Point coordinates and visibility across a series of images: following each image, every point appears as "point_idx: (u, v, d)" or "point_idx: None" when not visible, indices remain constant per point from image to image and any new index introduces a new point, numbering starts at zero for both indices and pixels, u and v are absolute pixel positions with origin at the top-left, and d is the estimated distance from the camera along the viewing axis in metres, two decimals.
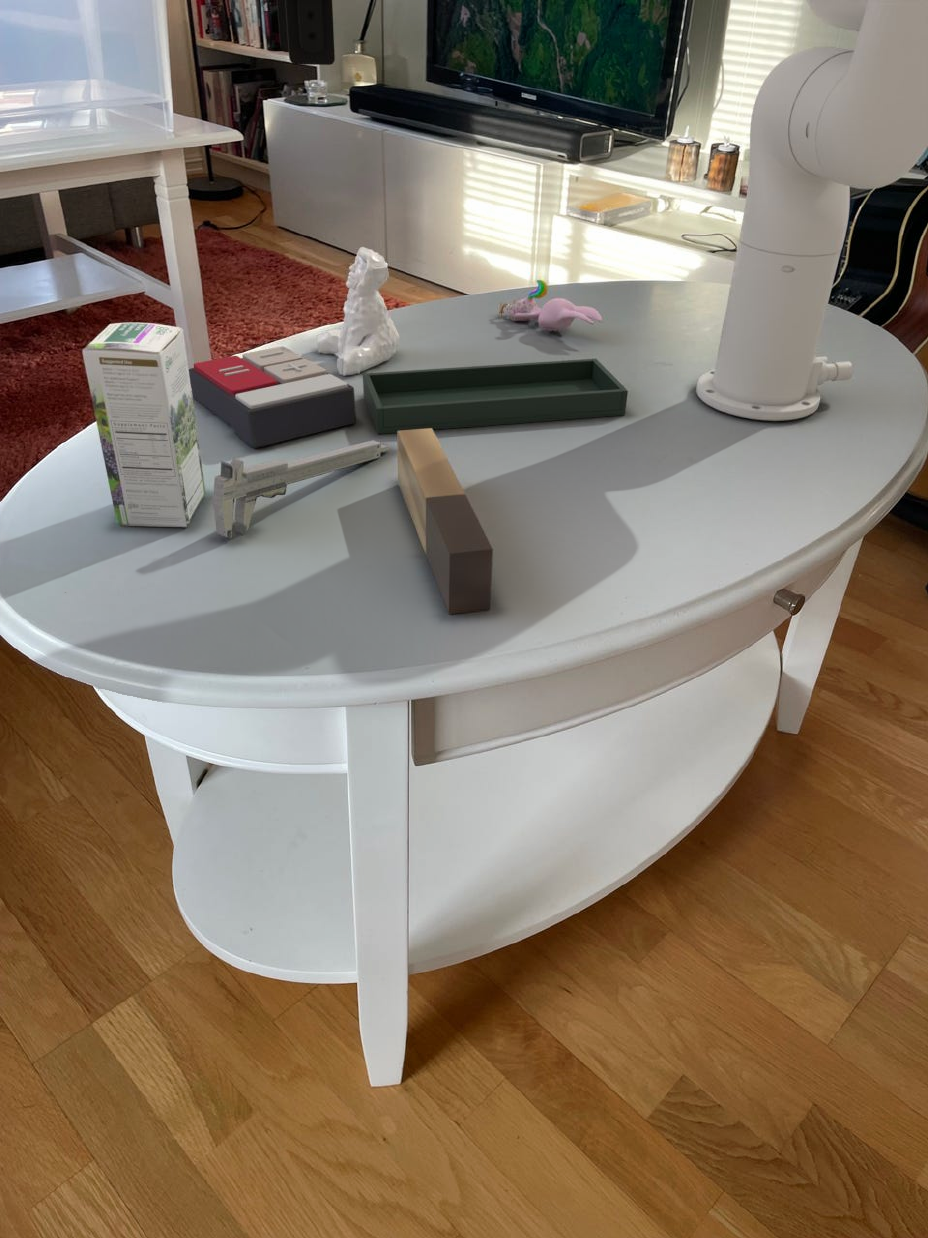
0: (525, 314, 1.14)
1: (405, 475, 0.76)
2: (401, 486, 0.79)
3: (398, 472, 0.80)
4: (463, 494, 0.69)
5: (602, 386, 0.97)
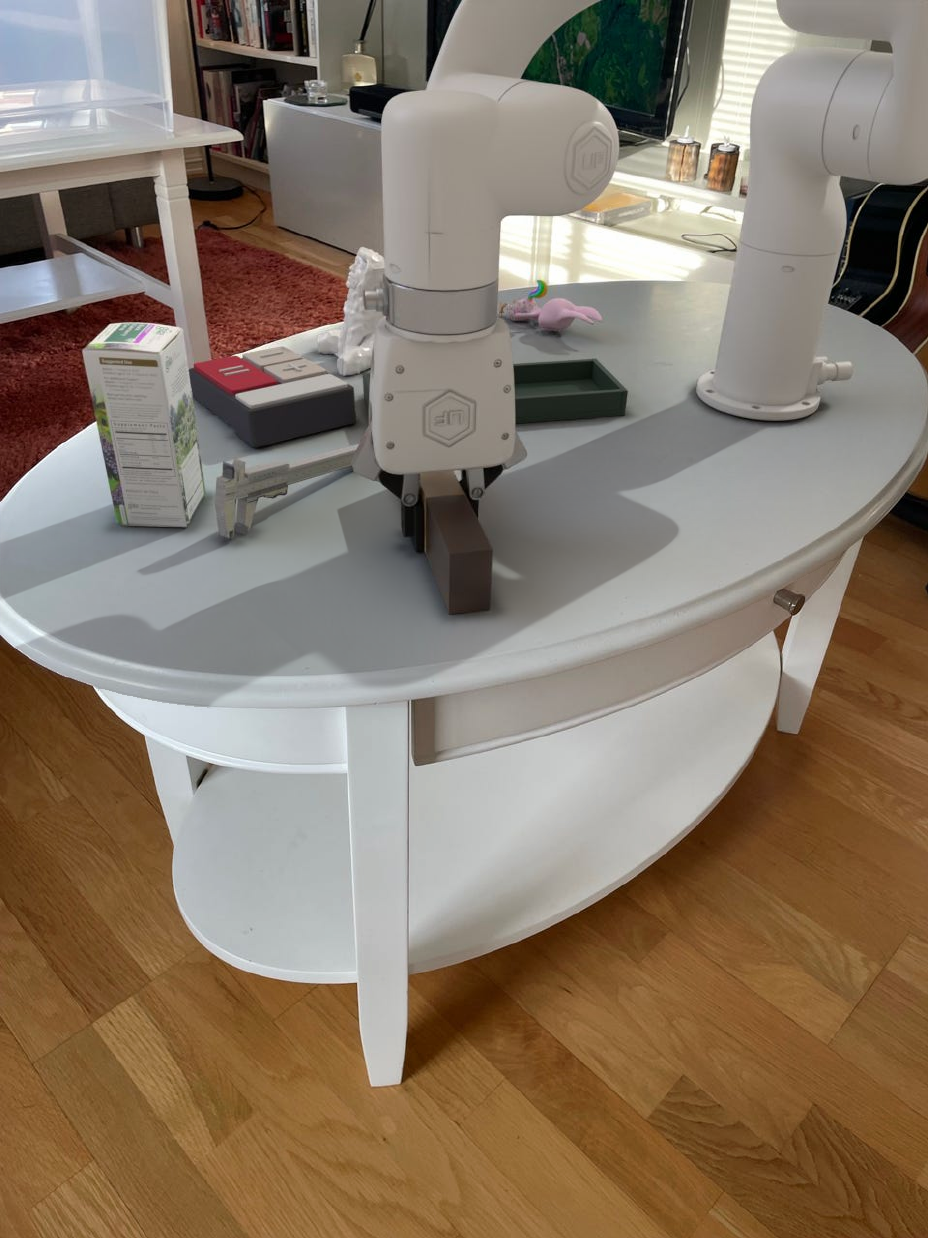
0: (525, 314, 1.14)
1: None
2: None
3: None
4: (463, 494, 0.69)
5: (602, 386, 0.97)
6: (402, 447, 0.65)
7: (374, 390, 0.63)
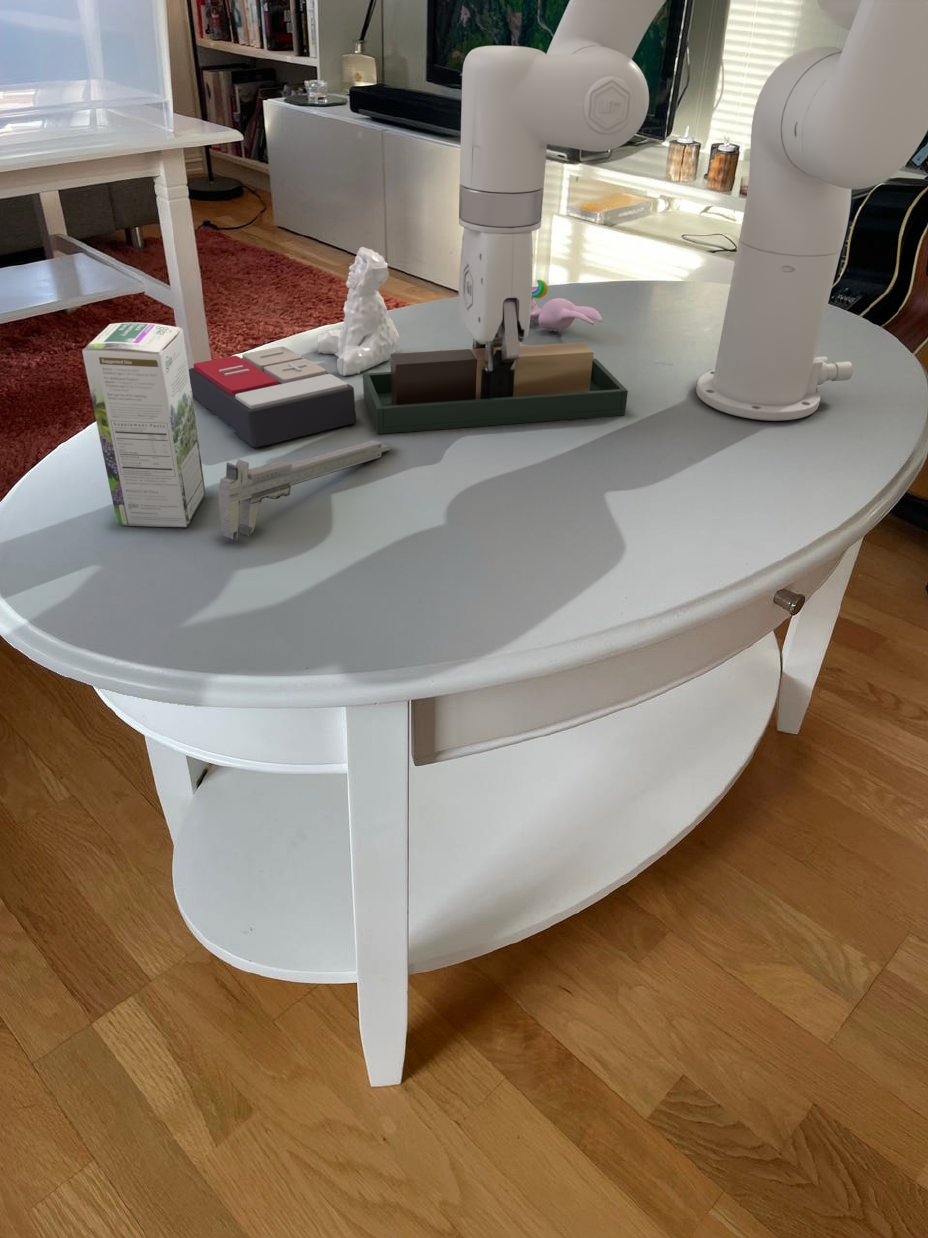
0: None
1: None
2: None
3: None
4: (476, 358, 0.90)
5: (602, 386, 0.97)
6: (460, 297, 0.91)
7: None
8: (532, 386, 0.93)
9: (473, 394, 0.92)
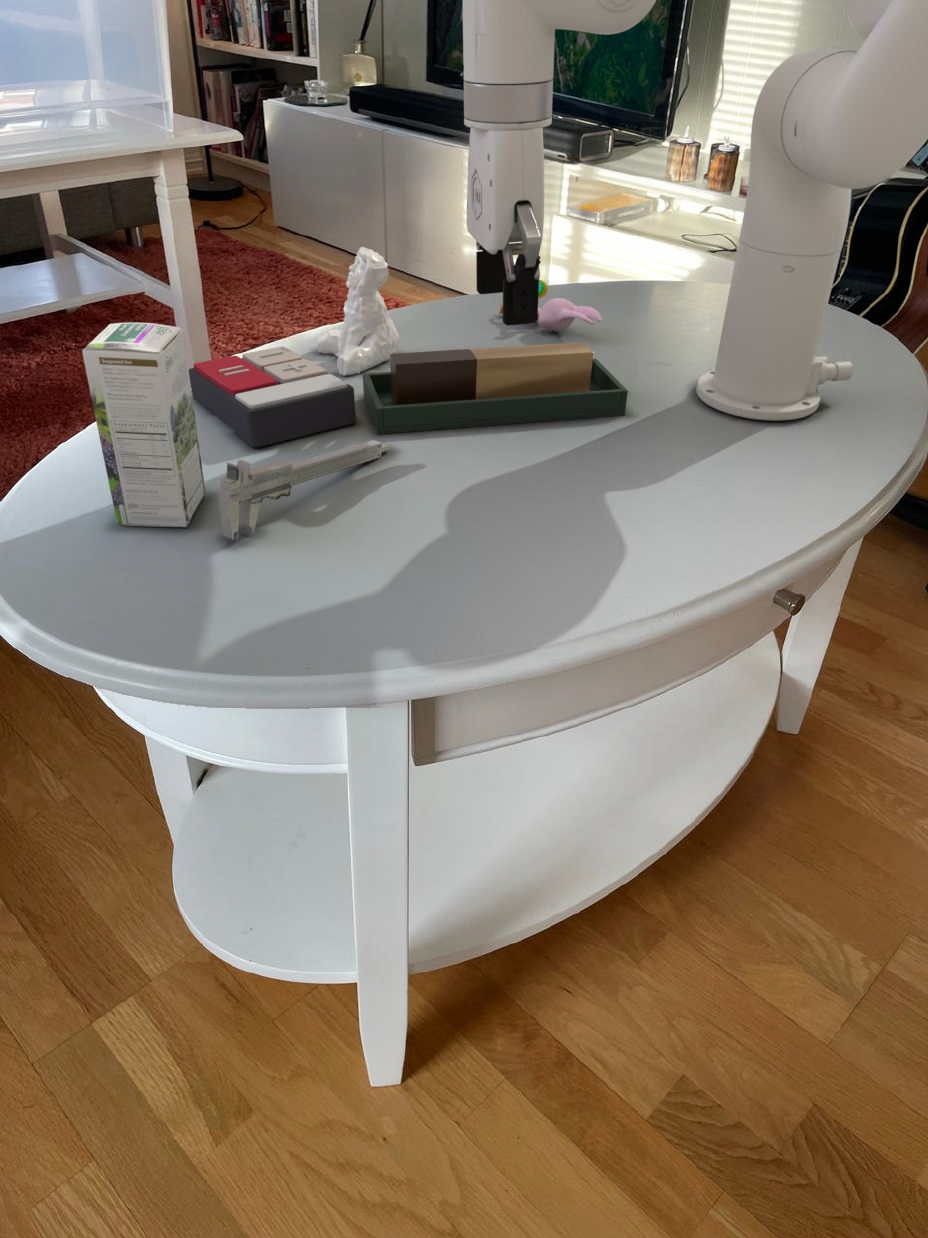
0: None
1: None
2: None
3: None
4: (475, 358, 0.90)
5: (602, 386, 0.97)
6: (468, 210, 0.86)
7: None
8: (532, 386, 0.93)
9: (473, 394, 0.92)
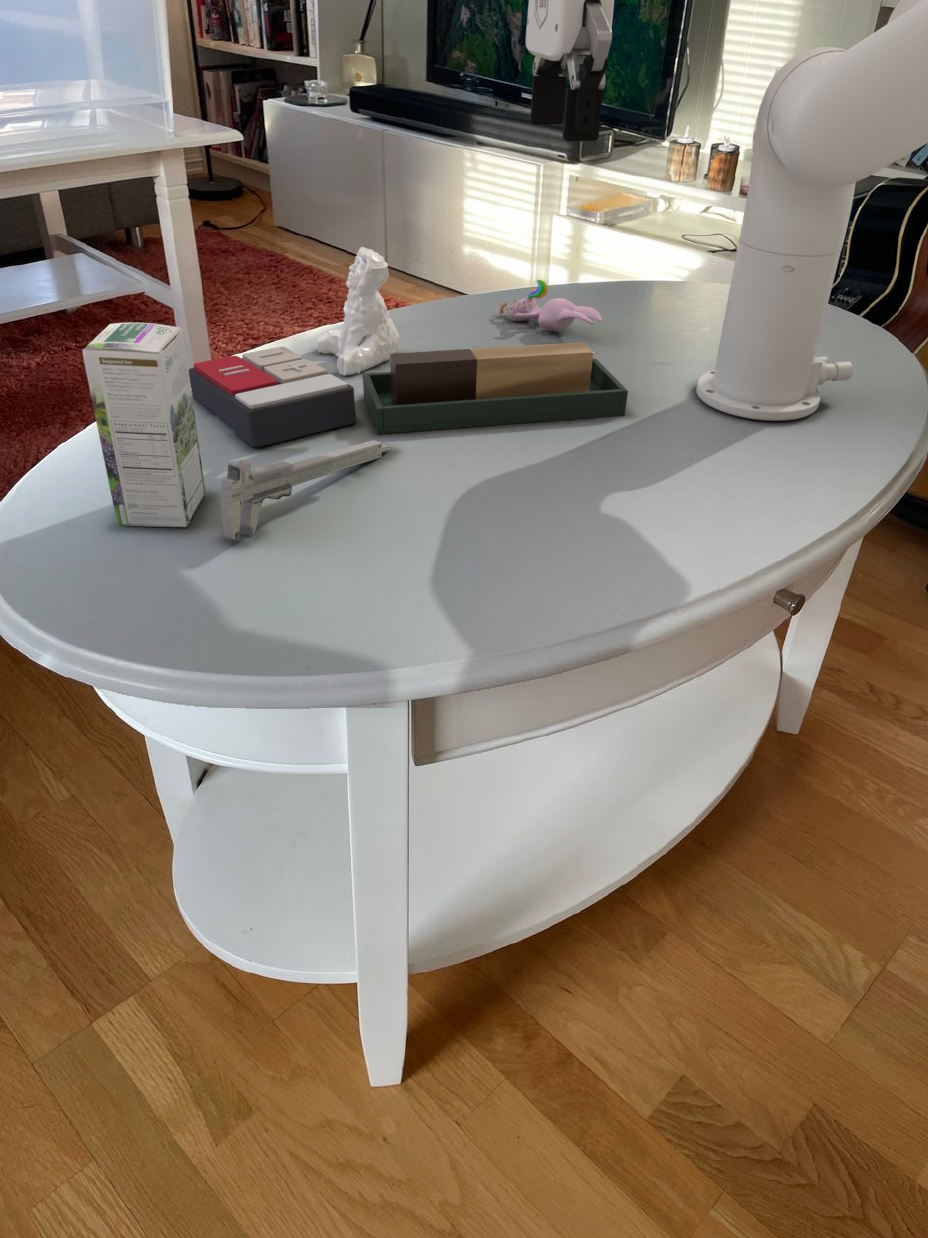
0: (525, 314, 1.14)
1: None
2: None
3: None
4: (475, 358, 0.90)
5: (602, 386, 0.97)
6: (529, 23, 0.83)
7: None
8: (532, 386, 0.93)
9: (473, 394, 0.92)
